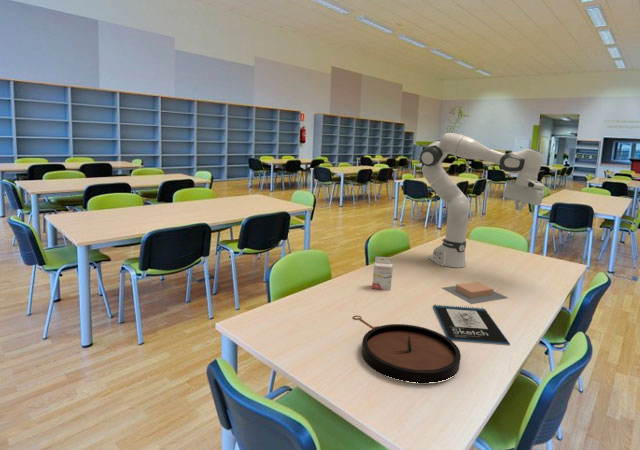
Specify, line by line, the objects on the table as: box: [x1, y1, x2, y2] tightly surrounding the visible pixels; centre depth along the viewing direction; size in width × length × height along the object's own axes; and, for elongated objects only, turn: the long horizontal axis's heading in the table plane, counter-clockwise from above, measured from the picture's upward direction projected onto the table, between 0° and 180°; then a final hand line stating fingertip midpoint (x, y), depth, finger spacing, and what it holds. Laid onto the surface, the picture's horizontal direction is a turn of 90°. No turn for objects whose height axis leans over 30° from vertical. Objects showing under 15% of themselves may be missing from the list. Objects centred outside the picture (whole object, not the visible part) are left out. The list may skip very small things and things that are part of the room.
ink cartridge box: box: [371, 255, 394, 291], centre depth 194 cm, size 9×5×15 cm, turn 84°
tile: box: [455, 281, 494, 298], centre depth 192 cm, size 10×3×13 cm
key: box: [352, 315, 380, 329], centre depth 158 cm, size 6×1×15 cm
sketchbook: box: [432, 304, 511, 346], centre depth 161 cm, size 22×30×2 cm
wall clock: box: [361, 323, 462, 383], centre depth 136 cm, size 31×4×31 cm
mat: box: [441, 285, 509, 305], centre depth 193 cm, size 20×22×1 cm
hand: (518, 210), depth 203 cm, fingers closed
